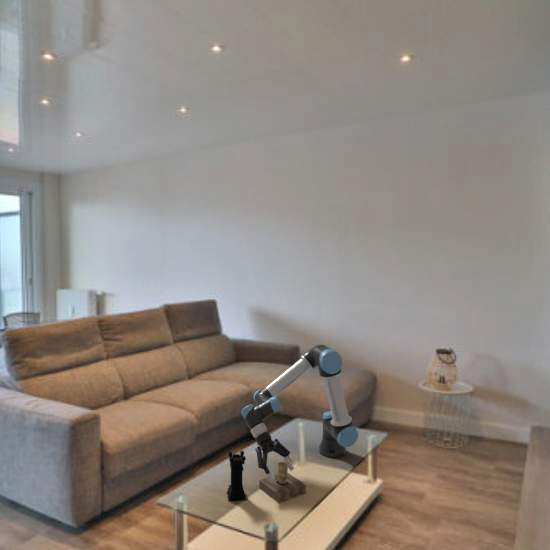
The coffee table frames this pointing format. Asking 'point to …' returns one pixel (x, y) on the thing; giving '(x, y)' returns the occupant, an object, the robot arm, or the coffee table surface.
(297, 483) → the walnut board
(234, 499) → the chess piece
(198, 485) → the coffee table surface
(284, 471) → the oak peg
